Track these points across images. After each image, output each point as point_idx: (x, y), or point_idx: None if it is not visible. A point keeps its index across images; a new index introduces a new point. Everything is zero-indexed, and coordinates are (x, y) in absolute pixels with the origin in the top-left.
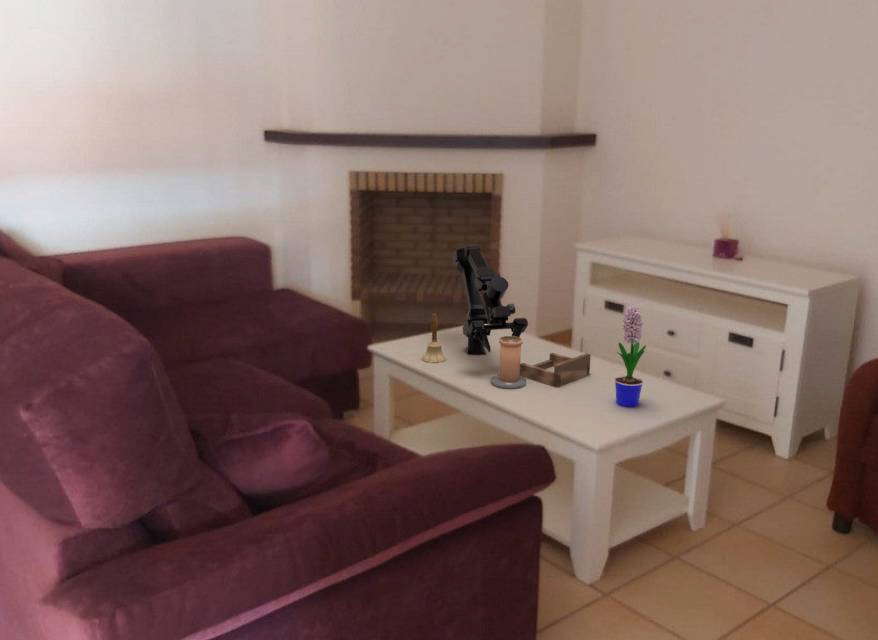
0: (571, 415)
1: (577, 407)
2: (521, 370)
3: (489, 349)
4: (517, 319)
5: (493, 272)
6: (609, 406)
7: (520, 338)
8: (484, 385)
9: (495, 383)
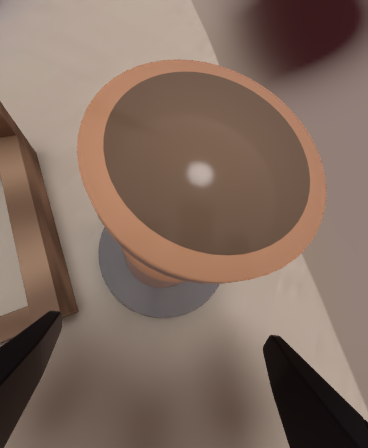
0: (138, 29)
1: (95, 44)
2: (68, 304)
3: (283, 340)
4: None
5: None
6: (17, 11)
7: (97, 126)
8: None
9: None
